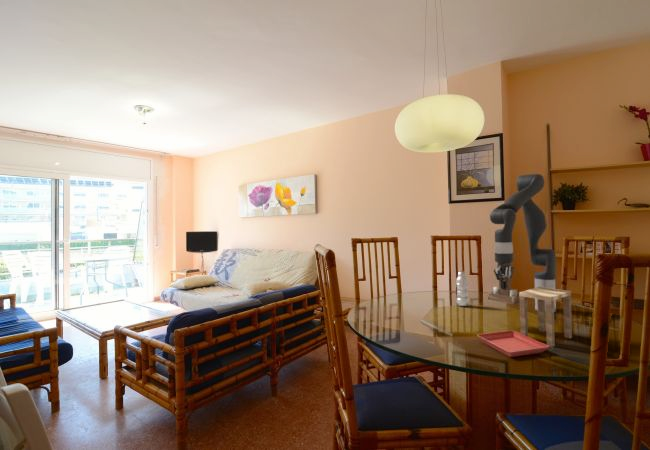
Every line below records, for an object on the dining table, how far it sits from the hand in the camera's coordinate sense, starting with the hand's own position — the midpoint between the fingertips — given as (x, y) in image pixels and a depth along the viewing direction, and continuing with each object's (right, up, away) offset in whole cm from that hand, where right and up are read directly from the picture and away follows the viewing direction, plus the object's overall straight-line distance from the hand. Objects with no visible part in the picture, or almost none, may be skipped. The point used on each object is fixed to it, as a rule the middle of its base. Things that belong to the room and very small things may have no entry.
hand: (504, 288), depth 149 cm
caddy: (0, -5, 0) cm, 5 cm away
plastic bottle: (-3, -18, +38) cm, 42 cm away
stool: (+9, -18, -14) cm, 25 cm away
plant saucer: (-10, -19, -23) cm, 31 cm away
